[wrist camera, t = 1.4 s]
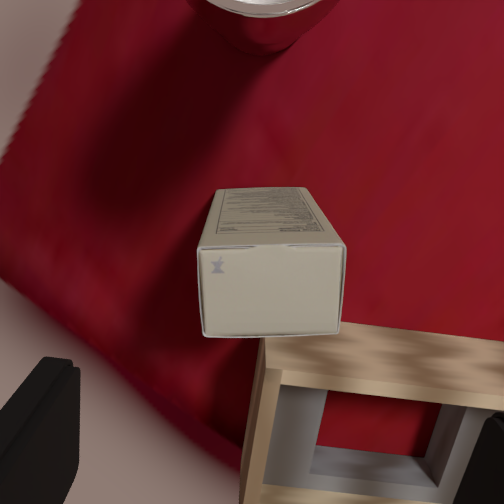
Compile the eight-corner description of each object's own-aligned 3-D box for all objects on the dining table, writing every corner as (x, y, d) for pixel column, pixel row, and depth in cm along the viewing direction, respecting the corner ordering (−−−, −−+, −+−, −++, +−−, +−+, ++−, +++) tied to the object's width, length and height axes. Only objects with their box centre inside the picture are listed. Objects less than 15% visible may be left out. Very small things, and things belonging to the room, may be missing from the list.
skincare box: (218, 249, 31) (193, 340, 19) (215, 187, 29) (187, 245, 18) (310, 248, 30) (342, 339, 19) (312, 186, 29) (348, 244, 18)
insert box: (530, 345, 33) (598, 407, 26) (474, 487, 37) (520, 571, 31) (264, 312, 32) (265, 367, 26) (240, 460, 37) (237, 540, 30)
